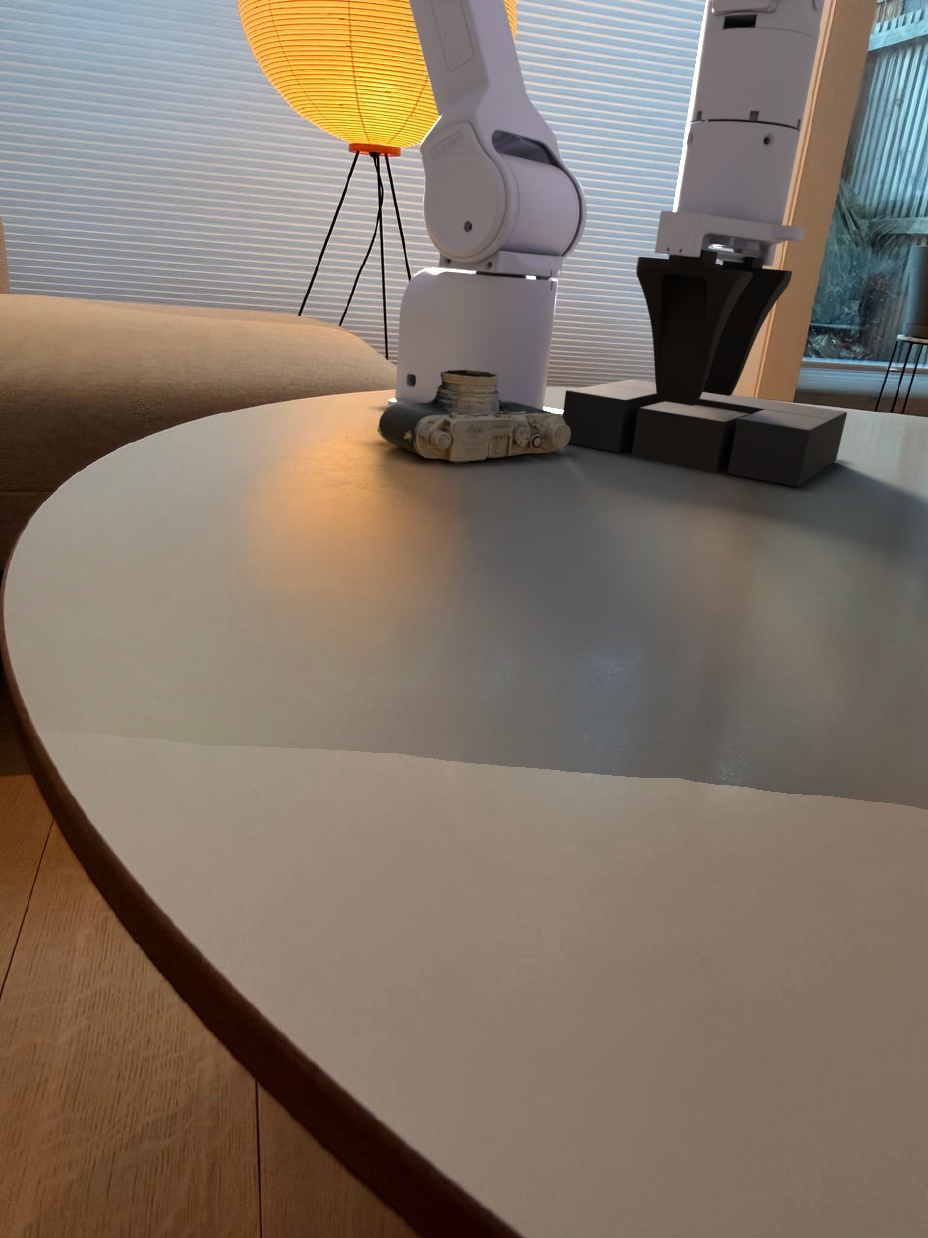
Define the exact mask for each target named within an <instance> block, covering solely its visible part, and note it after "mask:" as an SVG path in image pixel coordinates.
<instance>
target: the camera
mask: <svg viewBox="0 0 928 1238" xmlns="http://www.w3.org/2000/svg"><path fill="white" fill-rule="evenodd" d="M440 377H441V380H442V384H441V385H440V386H439V387H437V388H438V391H437V392H436V396H435V398H434V399H433V400H432V401H430V402H425V403H412V402H401V403H395V404H394V405H392V406H390V407H389V406H387V408H386V409H385V410H384V411H383V412H382V414H381V416H380V418H379V422H378V426H377V432H378V435H380V436H381V437H382V439H383V440H385V441H386V442H388V443H389V444H393V445H396V446H397V447H401V448H403V449H405V450H407V451H410V452H412V453H413V454H417V455H418V456H421V457H424V458H425V459H442V460H444V461H446V462H448V463H452V464H466V463H470V461H472V462H473V461H474V462H475V461H485V460H486V459H487V458H490V459H492V458H493V459H494V458H505V457H510V456H511V457H512V456H517V455H518V456H519V455H523V454H545V453H552V452H555V451H557V450H558V449H561V448H565V447H566V446H567V445H568V444H569V443H568V442H569V440H570V436H571V430H570V427H569V426H567V425H566V424H565V420H564V417H563V416H561V415H559V414H557V413H552V412H549V411H546V410H542V409H538V408H534V407H532V406H527V405H523V404H519V403H517V402H513V401H504V402H503V401H501V400H499V392H498V391H496V389H497V383H498V377H497V374H491V373H489V372H482V371H473V370H453V371H451V370H448V371H447V372H446V371H445V372H444V371H441V375H440Z"/></svg>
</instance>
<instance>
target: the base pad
mask: <svg viewBox="0 0 928 1238" xmlns="http://www.w3.org/2000/svg"><path fill="white" fill-rule="evenodd" d="M661 402H665V401H660V400H658V399H657V392H656V382H653V381H645V380H639V379H633V378H630V379H623V380H619V381H618V380H617V381H613V382H607V383H601V384H594V385H588V386H583V387H579V388H578V387H577V388H572V389H566V390H565V394H564V402H563V409H562V410H563V417H564V420H565V424H566V425H567V426H569V427H570V430H571V436H570V440H569V442H568V444H572V445H577V446H581V447H586V448H587V447H588V448H592V449H597V450H602V451H608V452H613V453H621V452H624V451H627V450H630V449H632V448H633V441H634V435H635V428H636V421H637V415H638V408H640V407H644V406H648V405H652V404H657V403H661ZM697 405H702V406H708V407H715V408H721V409H727V410H733V411H740V412H746V413H750V415H748V416H745V417H742V418H739V419H738V420H737V425H736V430H735V435H734V441H733V446H732V451H731V456H730V461H729V467H727V474H728V475H731V476H737V477H743V478H747V479H752V480H758V481H762V482H769V483H774V484H779V485H784V486H787V487H788V486H789V487H794V488H799V486H801V485H803V484H804V483H806V482H807V481H809V480H810V479H812V478H813V477H814V476H816V475H817V474H819V473H820V472H821V471H823V470H824V469H826V468H827V467H829V466H830V465H832V464H833V463H835V462H837V458H838V454H839V450H840V446H841V442H842V437H843V433H844V428H845V424H846V420H847V415H848V412H847V411H842V410H837V409H829V408H823V407H817V406H810V405H804V404H796V403H790V402H784V401H777V400H772V399H765V398H758V397H751V396H744V395H738V394H732V395H730V396H726V395H719V394H713V393H706V392H702V395H701V397H700V399H699V401H698V403H697Z"/></svg>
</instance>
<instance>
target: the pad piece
mask: <svg viewBox="0 0 928 1238" xmlns="http://www.w3.org/2000/svg"><path fill="white" fill-rule="evenodd" d="M748 415H750V413H746V412H740V411H733V410H727V409H721V408H715V407H708V406H702V405H693V406H691V405H684V404H678V403H672V402H666V401H665V402H661V403H657V404H652V405H648V406H644V407H640V408H638V415H637V421H636V428H635V435H634V441H633V448H631V454H630V456H631V457H633V458H639V459H642V460H643V459H644V460H649V461H653V462H659V463H664V464H669V465H675V466H679V467H685V468H690V469H695V470H701V471H705V472H710V473H719V472H720V471H723V470H724V469H726V468H727V469H728V467H729V461H730V456H731V451H732V446H733V441H734V435H735V430H736V425H737V420H738V419H739V418H742V417H745V416H748Z"/></svg>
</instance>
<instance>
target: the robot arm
mask: <svg viewBox="0 0 928 1238" xmlns="http://www.w3.org/2000/svg"><path fill="white" fill-rule="evenodd" d="M408 3H409V6H410V11H411V15H412V18H413V22H414V26H415V31H416V34H417V37H418V41H419V46H420V50H421V54H422V58H423V61H424V66H425V69H426V72H427V76H428V81H429V84H430V87H431V93H432V95H433V100H434V103H435V107H436V112H437V116H438V119H437V120H436V121H435V123H434V124H433V126H432V127H431V128H430V130H429V131H428V132H427V133H426V135H425V136H424V137H423V139H422V141H421V143H420V144H419V147H418V150H419V154H420V158H421V162H422V167H423V175H424V190H423V198H422V216H423V223H424V226H425V229H426V232H427V235H428V238H429V239H430V241H431V243H432V245H433V247H435V249H436V250H437V251H438V252H439V253H438V267H439V268H437V267H436V268H435V267H432V268H431V267H430V268H424V269H422V270H420V271H418V272H417V273H416V274H413V276H412V277H411V278H410V280H409V282H408V283H407V285H406V288H405V291H404V293H403V297H402V299H401V304H400V309H399V321H398V322H399V323H398V338H397V339H398V341H397V342H398V343H397V344H398V345H397V357H396V358H397V359H396V377H395V378H396V379H395V392H394V393H395V394H394V398H391V399H388V400H387V407H390V406H392V405H394V404H395V403H401V402H412V403H425V402H430V401H432V400H433V399H434V398H435V396H436V392H437V391H438V388H437V387H439V386H440V385H441V384H442V380H441V377H440V375H441V371H444V372H445V371H446V372H447V371H448V370H451V371H453V370H473V371H482V372H489V373H491V374H497V377H498V383H497V389H496V391H498V392H499V400H501V401H503V402H504V401H513V402H517V403H519V404H523V405H527V406H532V407H534V408H538V409H542V410H546V411H549V412H552V413H557V414H559V415H561V416H563V410H564V409H558V408H551V407H545V400H546V392H547V383H548V373H549V364H550V356H551V349H552V339H553V330H554V322H555V314H556V303H557V295H558V285H559V280H558V279H554V278H560V277H561V276H562V269H563V262H564V261H565V259H567V258H569V257H570V255H572V253H573V252H574V251H575V249H576V248H577V246H578V245H579V243H580V241H581V239H582V237H583V234H584V231H585V228H586V223H587V213H588V208H587V199H586V195H585V191H584V188H583V185H582V184H581V182H580V181H579V179H578V178H577V177H576V175H575V174H574V173H573V172H572V171H571V170H570V169H569V167H568V166H567V165H566V163H565V161H564V159H563V157H562V154H561V151H560V148H559V144H558V140H557V136H556V134H555V133H554V131H553V130H552V128H551V127H550V125H549V124H548V123H547V122H546V120H545V119H544V117H543V116H542V115H541V114H540V111H538V110H537V108H536V107H535V106H534V104H533V102H532V101H531V100H530V97H529V96H528V93H527V89H526V86H525V82H524V78H523V73H522V70H521V65H520V62H519V61H520V60H519V57H518V53H517V49H516V45H515V41H514V36H513V32H512V28H511V24H510V21H509V17H508V13H507V8H506V4H505V0H408ZM824 5H825V0H706V2H705V7H704V14H703V20H702V24H701V30H700V37H699V42H698V50H697V56H696V63H695V70H694V75H693V81H692V89H691V96H690V101H689V108H688V114H687V115H688V116H687V120H686V125H685V133H684V140H683V147H682V153H681V158H680V159H681V160H680V166H679V171H678V172H679V174H678V179H677V185H676V190H675V198H674V204H673V210H661V211H660V215H659V223H658V229H657V235H656V241H655V248H654V254H656V255H662V256H663V255H664V256H668V258H662V257H648V256H638V257H637V262H636V272H635V273H636V277H637V279H638V282H639V285H640V287H641V290H642V293H643V296H644V299H645V303H646V307H647V312H648V316H649V322H650V328H651V334H652V335H651V337H652V345H653V346H652V347H653V349H652V350H653V364H654V365H653V366H654V381H655V382H654V383H656V392H657V399H658V400H660V401H666V402H672V403H678V404H684V405H691V406H693V405H697V403H698V401H699V399H700V397H701V395H702V392H706V393H713V394H719V395H726V396H730V395H733V393H734V391H735V389H736V388H737V385H738V383H739V381H740V379H741V376H742V374H743V371H744V369H745V366H746V364H747V361H748V358H749V356H750V354H751V351H752V349H753V346H754V344H755V342H756V339H757V336H758V334H759V332H760V330H761V328H762V326H763V325H764V322H765V321H766V319H767V317H768V315H769V314H770V312H771V310H772V309H773V308H774V306H775V304H776V303H777V301H778V300H779V298H780V297H781V296H782V294H783V293H784V292H785V291H786V290H787V288H788V286H789V285H790V283H791V280H792V275H793V271H792V270H785V269H774V268H764V267H773V265H774V261H775V256H776V251H777V245H779V244H782V243H784V242H794V243H795V242H797V243H802V242H803V241H804V237H805V231H806V228H805V227H802V226H797V225H785V224H783V223H784V217H785V213H786V207H787V202H788V199H789V192H790V187H791V181H792V177H793V172H794V166H795V161H796V156H797V152H798V145H799V140H800V135H801V131H802V127H803V121H804V116H805V111H806V106H807V102H808V101H807V100H808V96H809V91H810V85H811V80H812V75H813V69H814V65H815V59H816V55H817V49H818V44H819V40H820V39H819V38H820V34H821V22H822V16H823V12H824ZM710 246H712V247H713V248H709V247H710ZM716 248H718V249H716ZM723 249H728V250H723ZM729 250H733V251H729ZM717 261H722V264H721V263H717ZM445 268H447V269H445Z"/></svg>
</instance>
